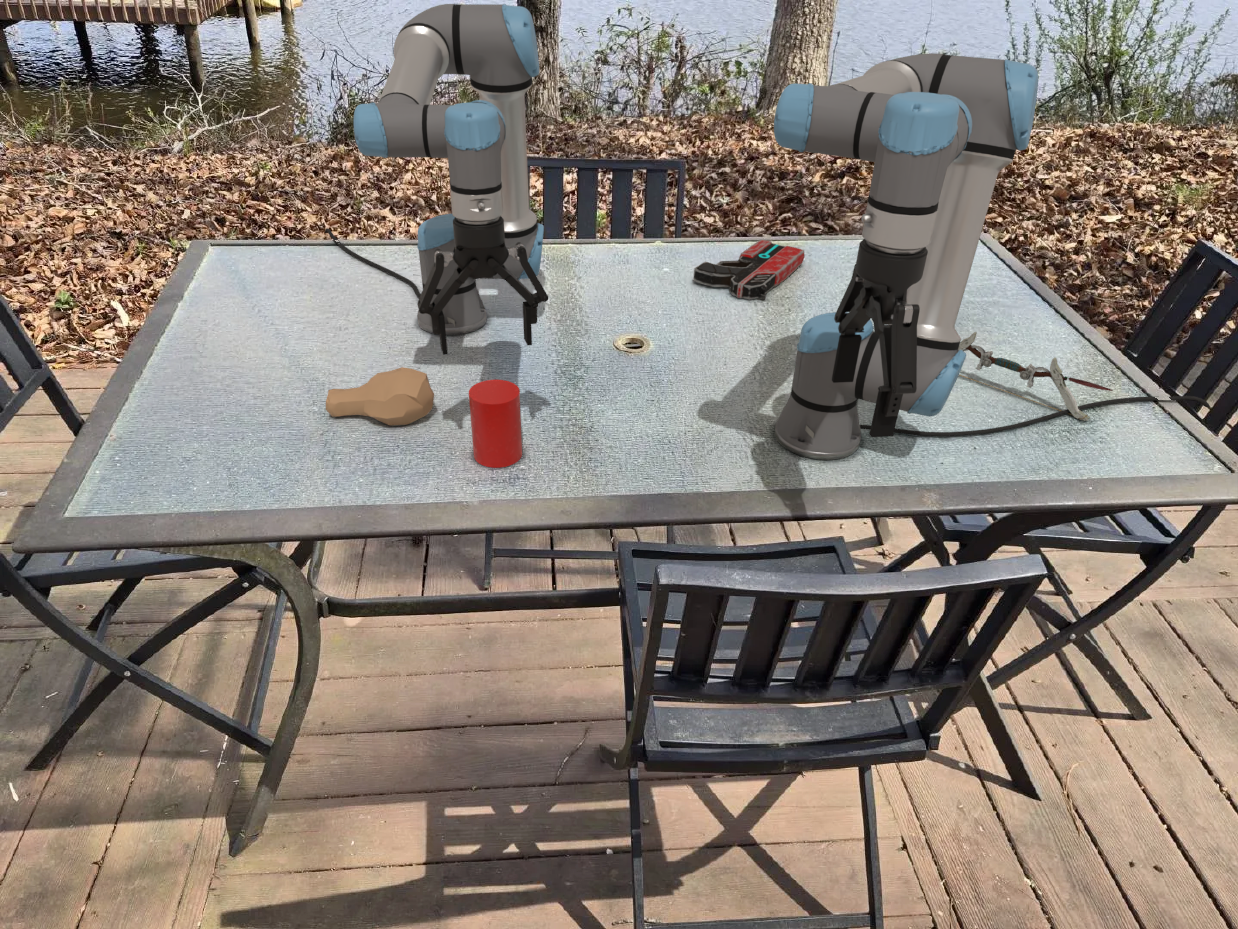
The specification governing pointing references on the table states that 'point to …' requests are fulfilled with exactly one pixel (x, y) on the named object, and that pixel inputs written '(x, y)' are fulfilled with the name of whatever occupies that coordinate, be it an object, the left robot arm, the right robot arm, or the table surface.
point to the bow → (1031, 375)
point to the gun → (752, 270)
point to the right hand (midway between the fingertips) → (860, 406)
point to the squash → (386, 397)
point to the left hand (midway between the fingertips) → (486, 346)
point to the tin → (496, 423)
